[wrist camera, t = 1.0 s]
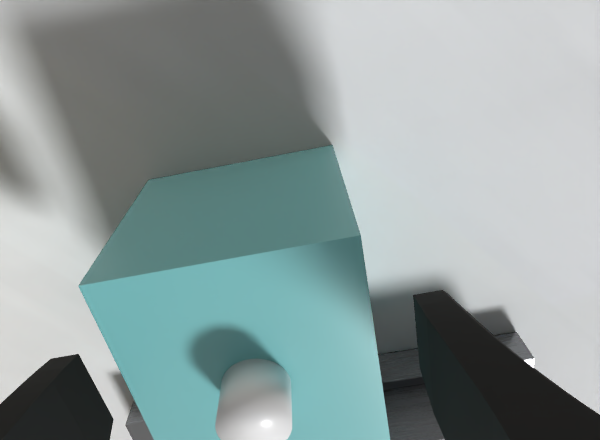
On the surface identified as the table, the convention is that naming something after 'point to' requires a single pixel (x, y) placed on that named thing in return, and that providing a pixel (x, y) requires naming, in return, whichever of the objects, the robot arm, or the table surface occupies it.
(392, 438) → the press bed
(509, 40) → the table surface
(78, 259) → the table surface
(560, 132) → the table surface
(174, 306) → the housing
